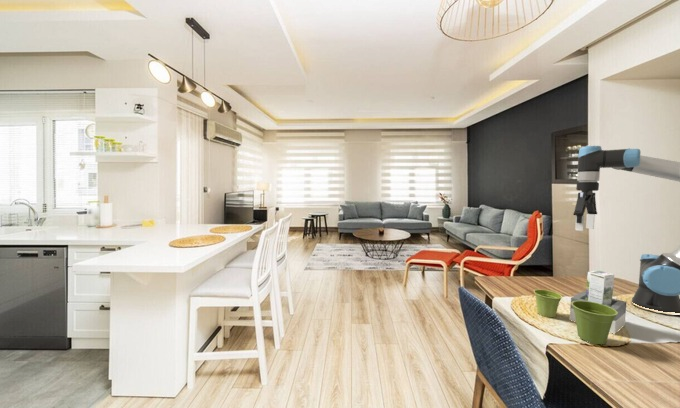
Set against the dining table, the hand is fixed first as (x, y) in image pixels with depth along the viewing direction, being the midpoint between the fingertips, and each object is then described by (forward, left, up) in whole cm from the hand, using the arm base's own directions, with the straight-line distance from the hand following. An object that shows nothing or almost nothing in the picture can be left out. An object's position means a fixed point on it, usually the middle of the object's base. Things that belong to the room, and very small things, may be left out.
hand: (584, 229), depth 131 cm
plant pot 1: (+22, +19, -33) cm, 44 cm away
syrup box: (+7, +23, -28) cm, 37 cm away
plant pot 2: (+17, +38, -33) cm, 53 cm away
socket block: (+7, +23, -33) cm, 41 cm away
